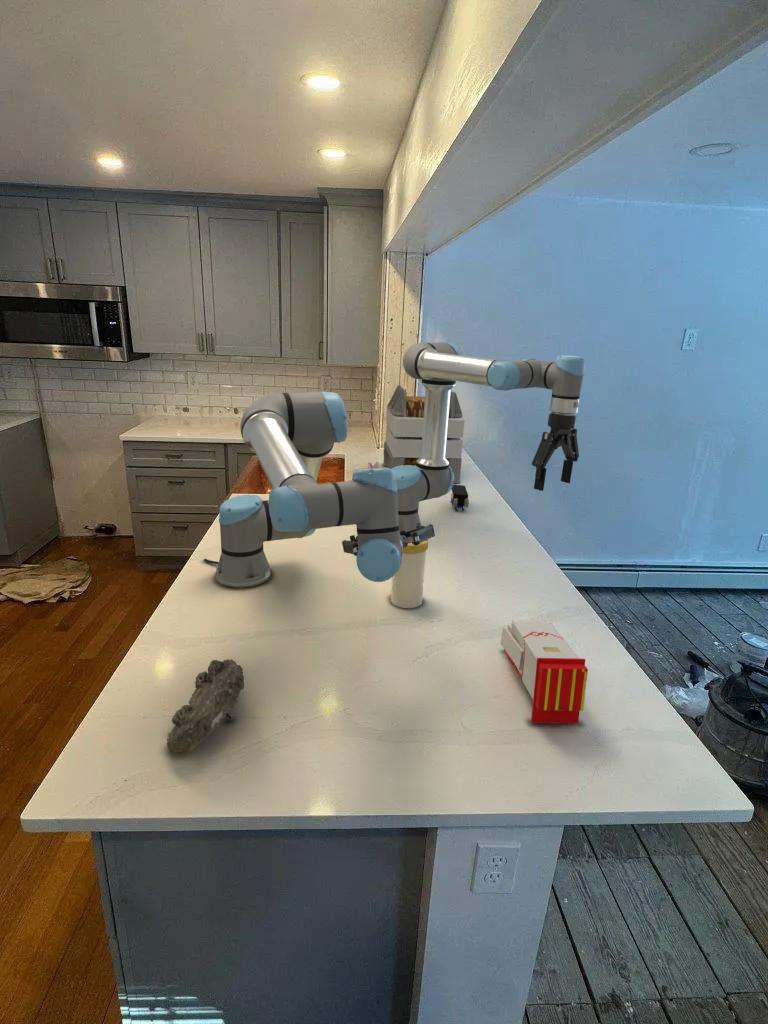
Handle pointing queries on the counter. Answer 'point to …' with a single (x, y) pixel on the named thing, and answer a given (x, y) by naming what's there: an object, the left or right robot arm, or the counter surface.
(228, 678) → the fossil
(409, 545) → the lid
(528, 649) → the toy
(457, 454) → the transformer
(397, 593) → the jar
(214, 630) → the counter surface
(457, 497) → the figurine character
